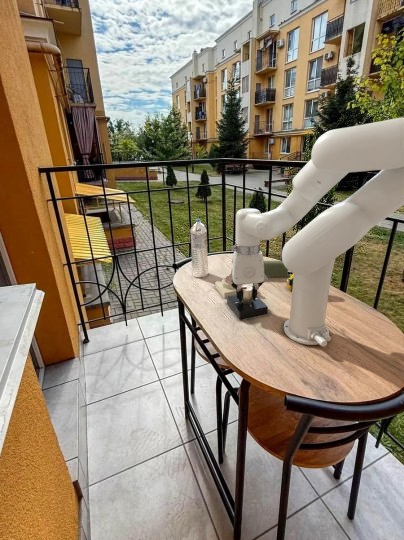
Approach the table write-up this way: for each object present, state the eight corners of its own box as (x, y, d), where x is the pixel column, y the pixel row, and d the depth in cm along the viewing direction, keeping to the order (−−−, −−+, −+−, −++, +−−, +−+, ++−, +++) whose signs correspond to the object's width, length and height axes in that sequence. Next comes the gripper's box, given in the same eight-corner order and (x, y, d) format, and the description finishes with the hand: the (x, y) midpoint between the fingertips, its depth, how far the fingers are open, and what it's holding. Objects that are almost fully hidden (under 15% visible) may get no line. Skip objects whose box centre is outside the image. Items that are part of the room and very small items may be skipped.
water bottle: (198, 270, 128) (196, 216, 119) (211, 273, 124) (209, 218, 115) (189, 275, 123) (186, 220, 114) (202, 279, 119) (199, 222, 110)
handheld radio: (241, 273, 123) (300, 274, 120) (241, 277, 120) (301, 277, 117) (241, 259, 120) (301, 259, 117) (241, 263, 117) (303, 263, 114)
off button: (236, 283, 107) (236, 278, 106) (227, 284, 106) (227, 280, 105) (233, 279, 110) (233, 275, 109) (224, 280, 109) (224, 276, 108)
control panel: (267, 314, 92) (267, 306, 91) (239, 320, 90) (239, 311, 89) (252, 298, 102) (252, 291, 101) (226, 303, 100) (226, 295, 98)
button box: (246, 294, 106) (246, 284, 104) (224, 298, 103) (224, 288, 102) (236, 282, 115) (236, 274, 113) (215, 286, 112) (215, 277, 111)
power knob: (250, 297, 97) (250, 283, 95) (254, 303, 93) (254, 289, 91) (239, 298, 96) (239, 285, 95) (242, 304, 93) (242, 290, 91)
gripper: (223, 254, 84) (224, 307, 90) (277, 250, 85) (274, 302, 92) (219, 246, 91) (220, 296, 97) (269, 242, 92) (267, 292, 99)
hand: (246, 298), depth 95 cm, fingers closed on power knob, 4 cm apart
